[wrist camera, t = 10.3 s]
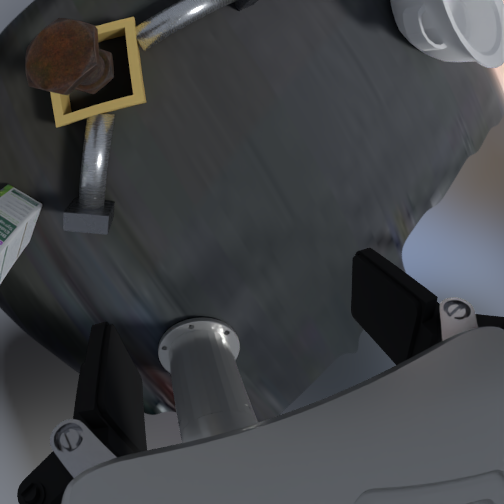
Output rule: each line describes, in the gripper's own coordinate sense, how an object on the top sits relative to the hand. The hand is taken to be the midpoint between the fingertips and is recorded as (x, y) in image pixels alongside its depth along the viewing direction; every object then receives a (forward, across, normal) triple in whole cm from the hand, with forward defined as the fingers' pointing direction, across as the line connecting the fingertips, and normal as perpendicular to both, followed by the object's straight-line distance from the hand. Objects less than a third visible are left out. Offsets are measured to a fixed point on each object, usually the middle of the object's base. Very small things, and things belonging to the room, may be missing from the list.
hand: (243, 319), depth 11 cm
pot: (+26, -38, -21) cm, 51 cm away
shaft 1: (+27, +9, -5) cm, 29 cm away
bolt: (+27, +7, -14) cm, 31 cm away
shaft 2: (+26, -3, -19) cm, 32 cm away
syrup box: (+27, +21, -2) cm, 35 cm away
